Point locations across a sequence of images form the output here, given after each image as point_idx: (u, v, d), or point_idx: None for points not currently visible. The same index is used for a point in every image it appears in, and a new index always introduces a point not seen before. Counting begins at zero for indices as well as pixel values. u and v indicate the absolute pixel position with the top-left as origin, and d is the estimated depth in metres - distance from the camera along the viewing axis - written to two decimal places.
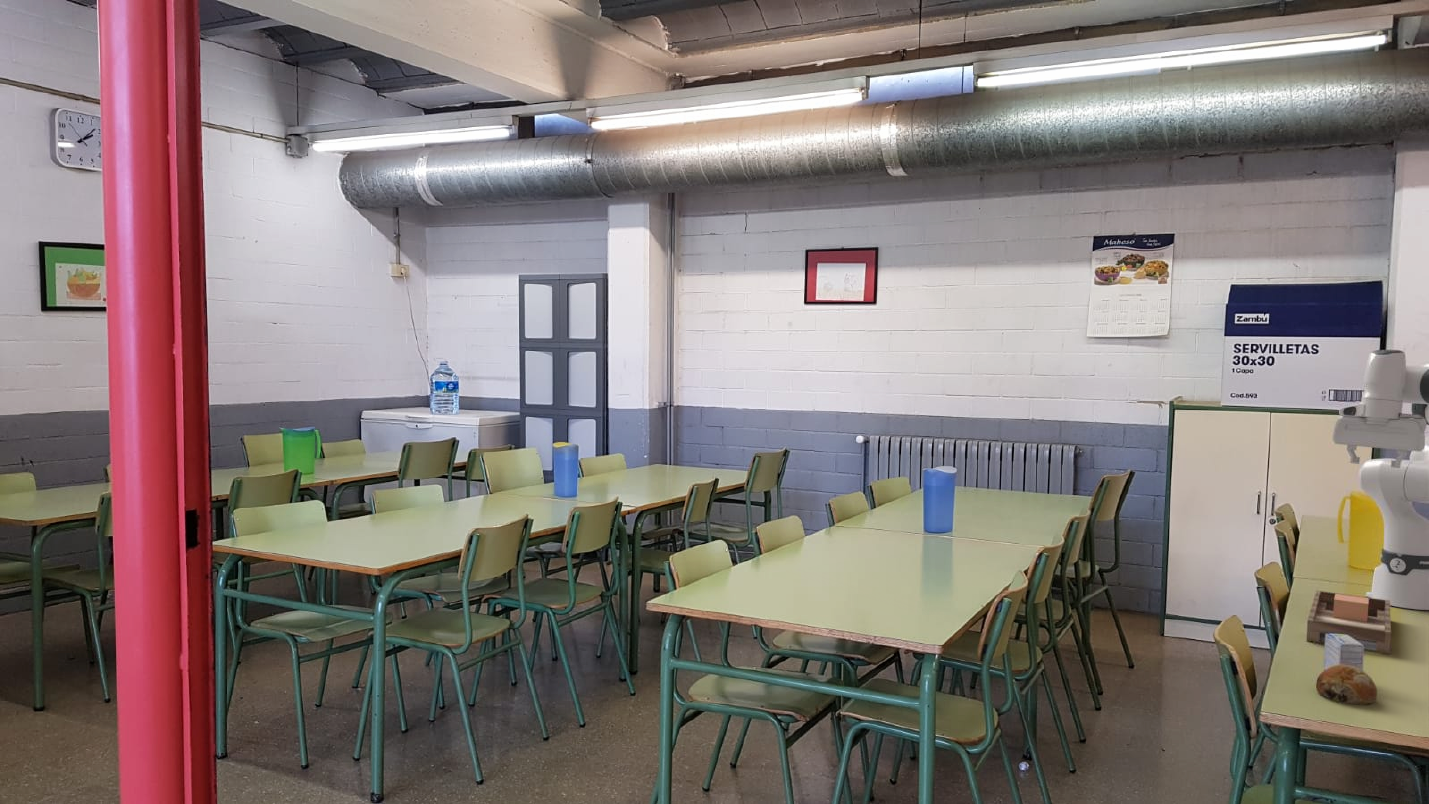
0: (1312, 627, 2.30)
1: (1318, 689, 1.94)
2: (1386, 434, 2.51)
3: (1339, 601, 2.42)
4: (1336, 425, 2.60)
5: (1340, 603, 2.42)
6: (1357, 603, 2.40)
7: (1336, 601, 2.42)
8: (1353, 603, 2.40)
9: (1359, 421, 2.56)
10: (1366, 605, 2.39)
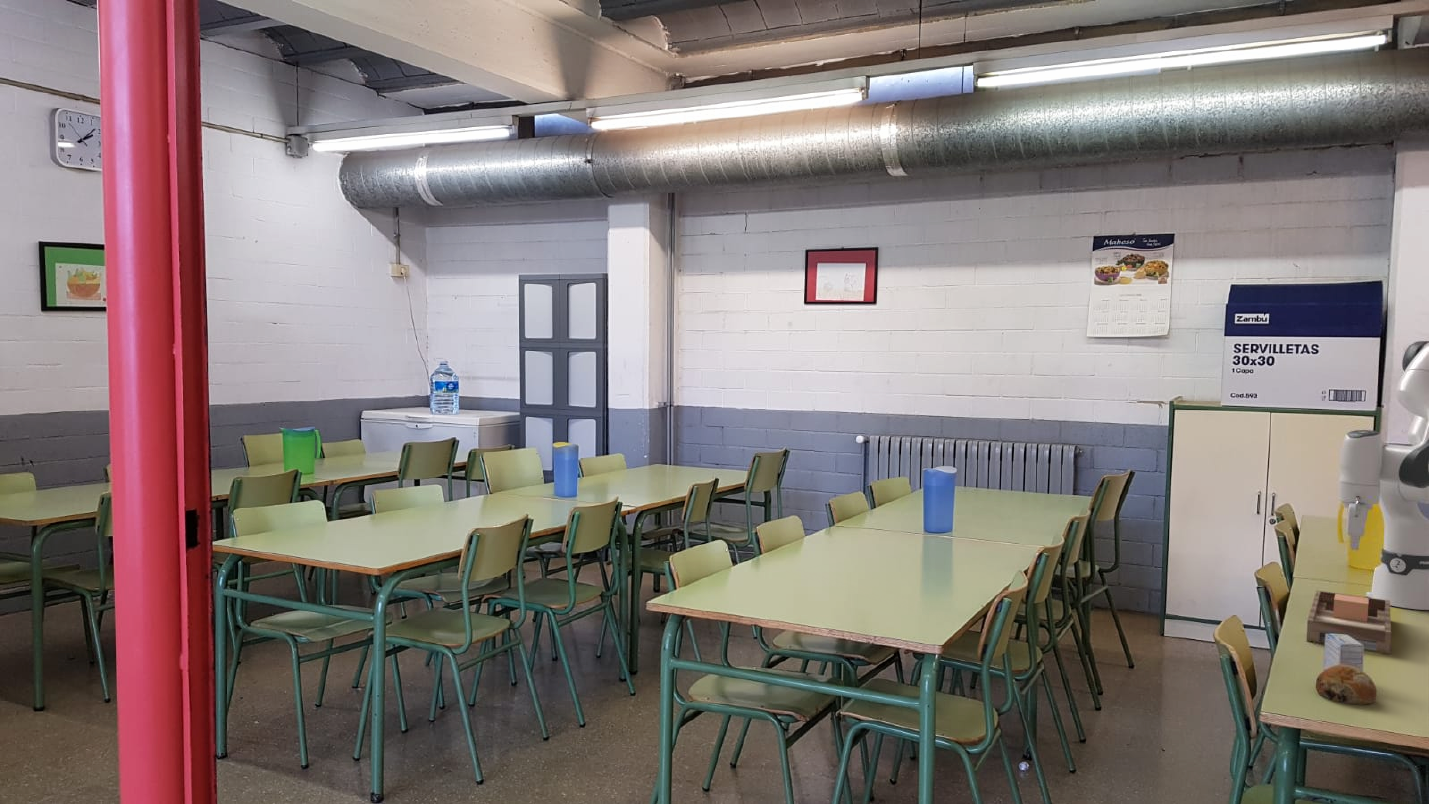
0: (1312, 627, 2.30)
1: (1318, 689, 1.94)
2: None
3: (1339, 601, 2.42)
4: None
5: (1340, 603, 2.42)
6: (1357, 603, 2.40)
7: (1336, 601, 2.42)
8: (1353, 603, 2.40)
9: None
10: (1366, 605, 2.39)
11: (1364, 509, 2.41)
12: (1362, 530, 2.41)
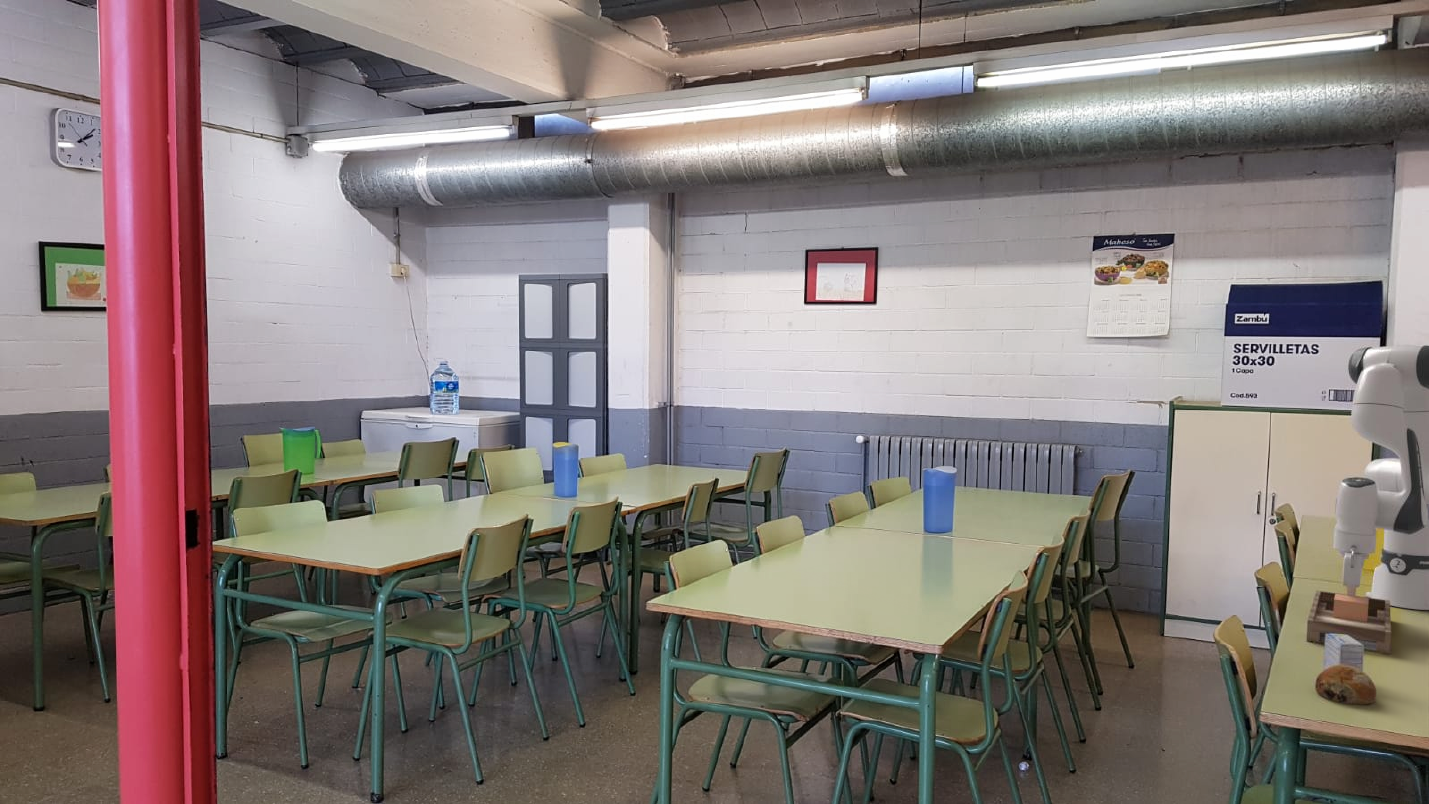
0: (1312, 627, 2.30)
1: (1317, 689, 1.94)
2: None
3: (1339, 601, 2.42)
4: None
5: (1340, 603, 2.42)
6: (1357, 603, 2.40)
7: (1336, 601, 2.42)
8: (1353, 603, 2.40)
9: None
10: (1366, 605, 2.39)
11: (1360, 560, 2.39)
12: (1358, 581, 2.38)
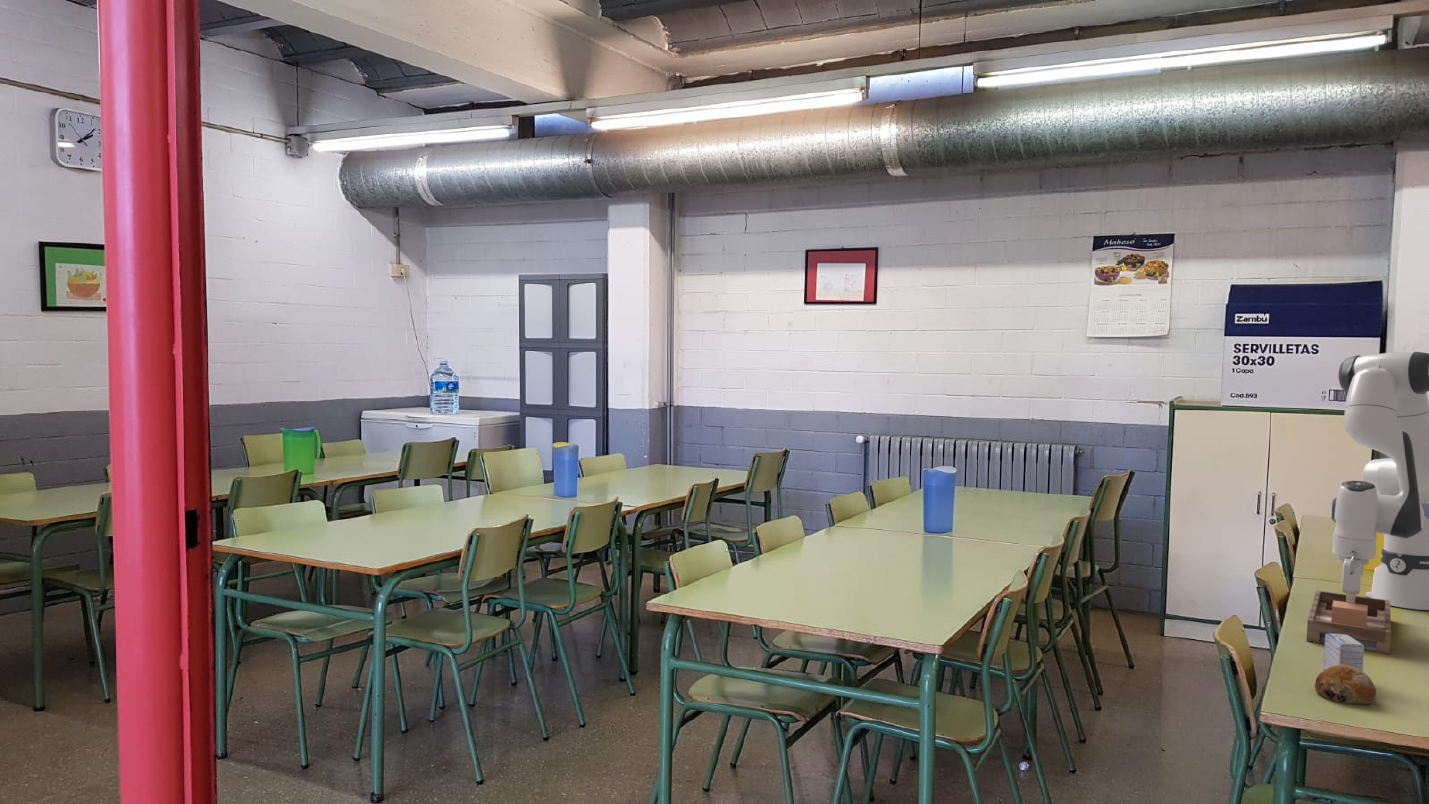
0: (1312, 627, 2.30)
1: (1317, 689, 1.94)
2: None
3: (1337, 608, 2.35)
4: None
5: (1338, 610, 2.35)
6: (1356, 610, 2.33)
7: (1334, 608, 2.35)
8: (1352, 610, 2.33)
9: None
10: (1365, 612, 2.32)
11: (1359, 566, 2.32)
12: (1357, 588, 2.31)
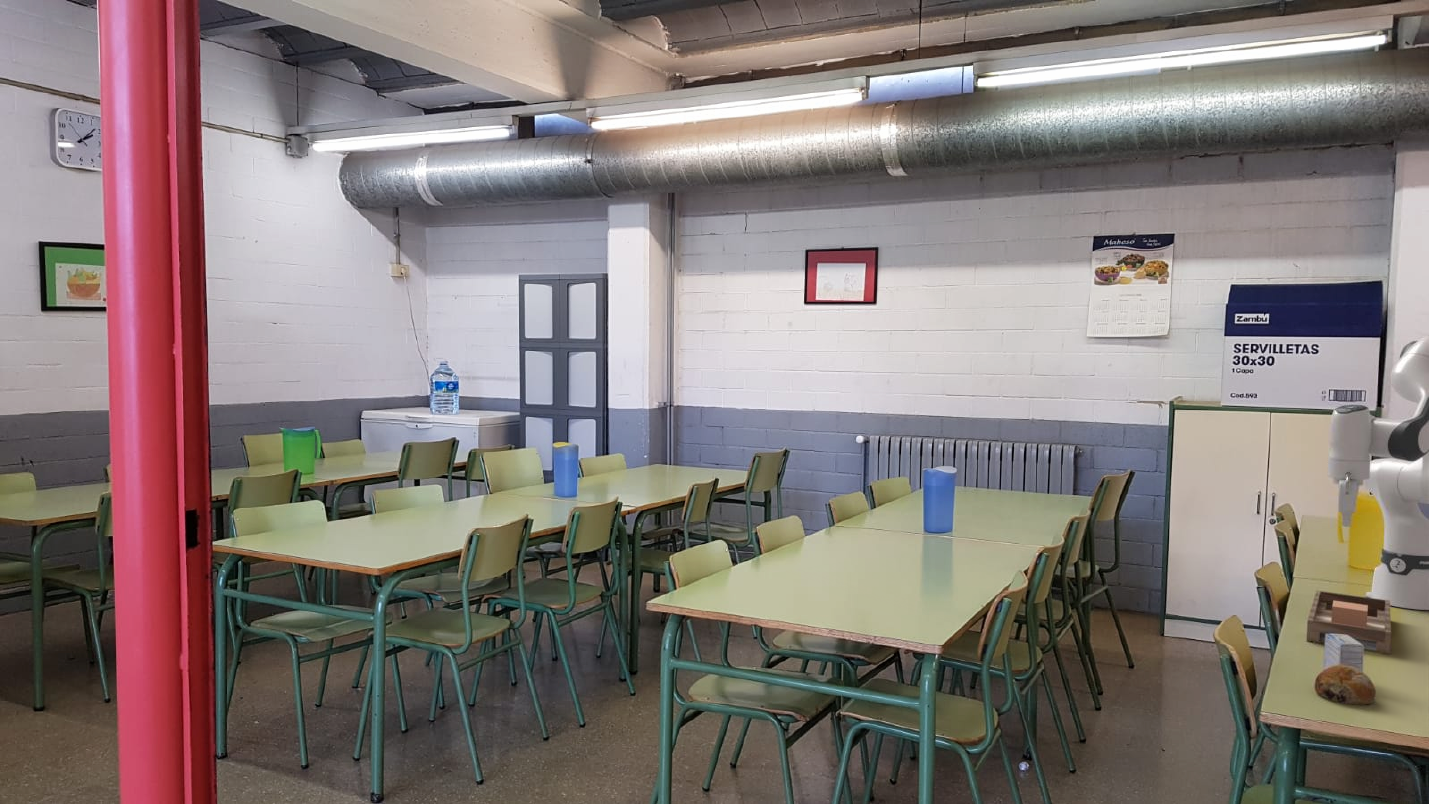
0: (1312, 627, 2.30)
1: (1316, 689, 1.94)
2: None
3: (1337, 608, 2.35)
4: None
5: (1338, 610, 2.35)
6: (1356, 610, 2.33)
7: (1334, 608, 2.35)
8: (1352, 610, 2.33)
9: None
10: (1365, 612, 2.32)
11: (1354, 485, 2.38)
12: (1353, 507, 2.38)
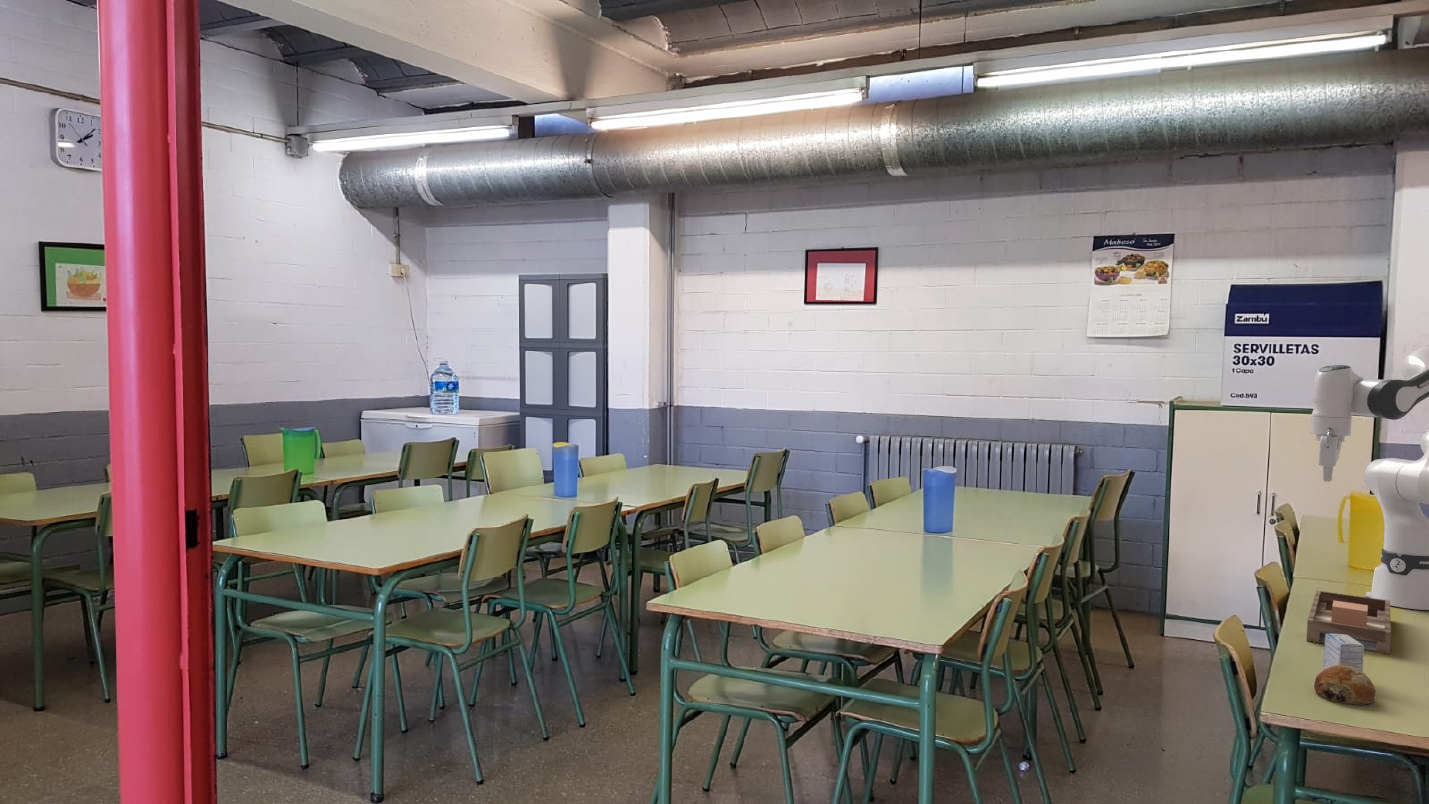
0: (1312, 627, 2.30)
1: (1316, 689, 1.94)
2: None
3: (1337, 608, 2.35)
4: None
5: (1338, 610, 2.35)
6: (1356, 610, 2.33)
7: (1334, 608, 2.35)
8: (1352, 610, 2.33)
9: None
10: (1365, 612, 2.32)
11: (1335, 440, 2.48)
12: (1333, 460, 2.48)
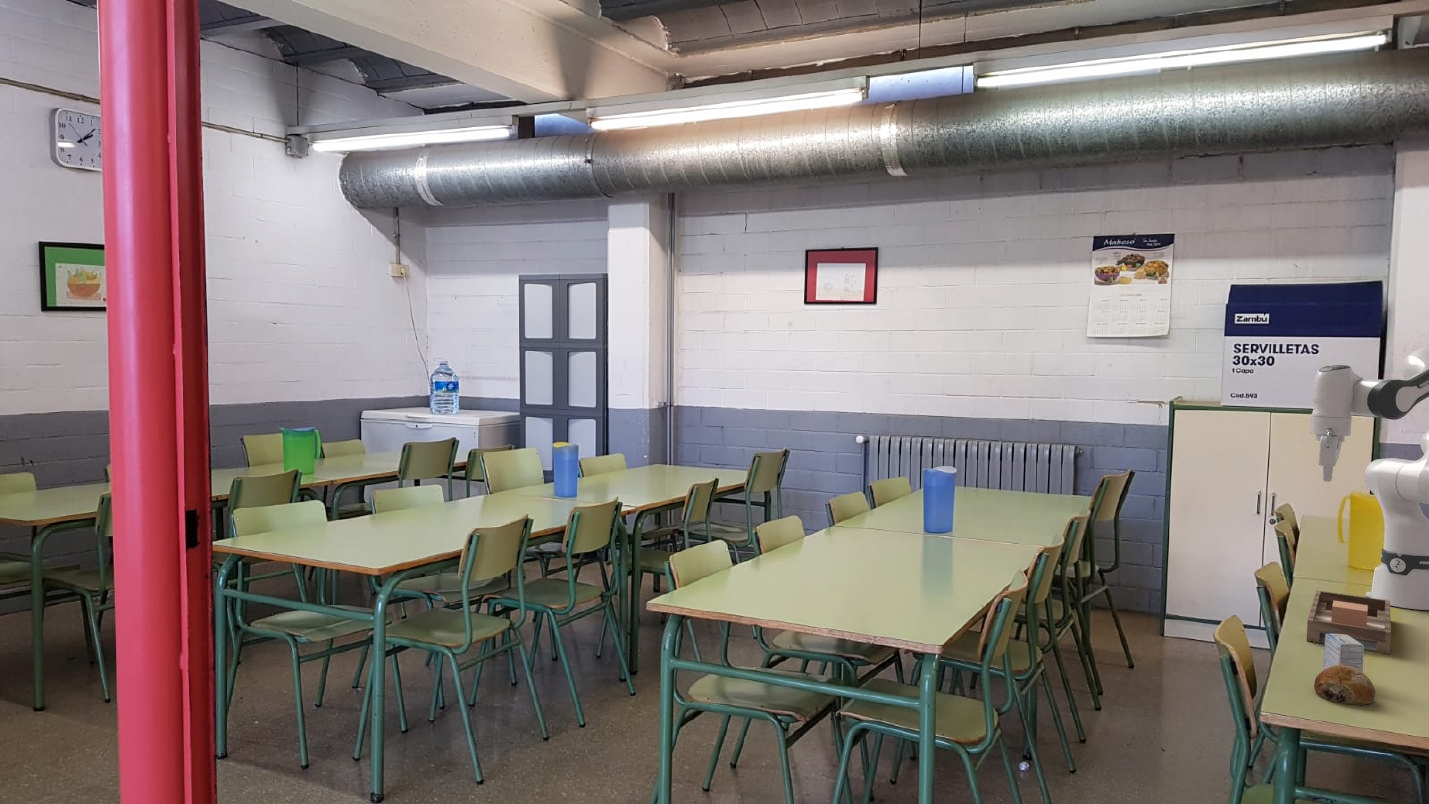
0: (1312, 627, 2.30)
1: (1316, 689, 1.93)
2: None
3: (1337, 608, 2.35)
4: None
5: (1338, 610, 2.35)
6: (1356, 610, 2.33)
7: (1334, 608, 2.35)
8: (1352, 610, 2.33)
9: None
10: (1365, 612, 2.32)
11: (1335, 440, 2.48)
12: (1333, 460, 2.48)
